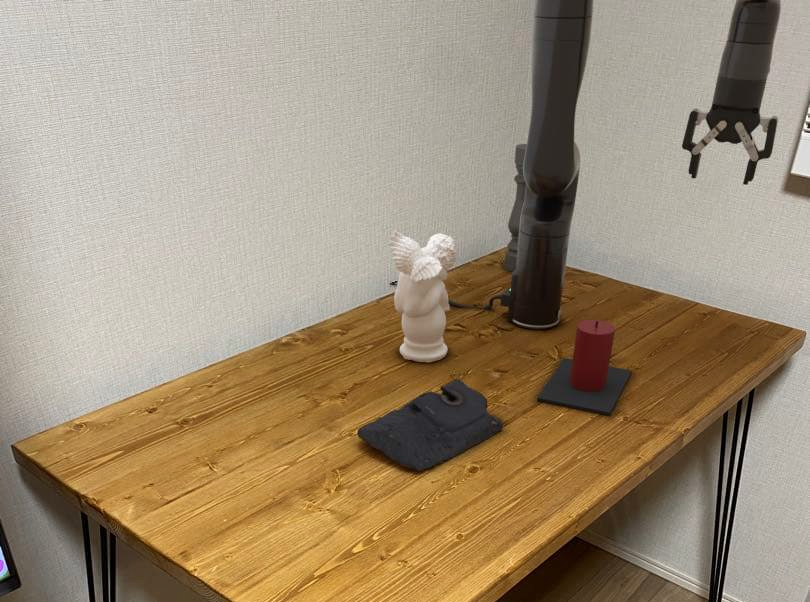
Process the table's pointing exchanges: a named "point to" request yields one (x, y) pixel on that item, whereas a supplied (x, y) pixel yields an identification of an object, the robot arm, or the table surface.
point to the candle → (591, 355)
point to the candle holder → (516, 210)
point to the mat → (596, 401)
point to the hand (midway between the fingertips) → (719, 180)
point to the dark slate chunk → (433, 427)
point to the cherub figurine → (422, 294)
